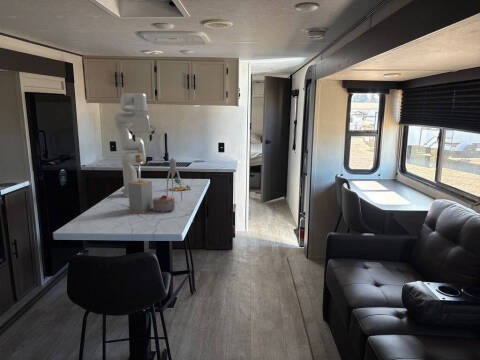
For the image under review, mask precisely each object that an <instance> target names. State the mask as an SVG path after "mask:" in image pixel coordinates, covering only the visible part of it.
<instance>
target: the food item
mask: <svg viewBox="0 0 480 360" xmlns="http://www.w3.org/2000/svg"><path fill="white" fill-rule="evenodd" d="M152 200H153V210H152V211H153V212H154V213H156V212H161V213H165V212H173V211H174V210H175V209H176V199H175V197H174V196H168V197H167V195H165V194H164V195H161V196H160V197H157V196H156V197H153V198H152Z"/></svg>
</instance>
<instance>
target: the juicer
mask: <svg viewBox="0 0 480 360" xmlns="http://www.w3.org/2000/svg"><path fill="white" fill-rule="evenodd" d="M175 174H177V175H178V178H179V182H180V183H179V184H180V185H179V187H180V189H181V190H180V199H181V201H183V190H182V187H183V186H182V180H181V181H180V178H181V177H180V172H179V170H178V169H177V163H176V159H175V158H174V157H172V158H171V157H170V159H169V170H168V173H167V179H166V196H167V197H169V194H168V193H169V191H168V190H169V179H170V175H171V189H172V190H171V192H172V193H171V194H172V195H174V190H173V188H174V184H173V183H174V179H175V178H174V177H175Z"/></svg>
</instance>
